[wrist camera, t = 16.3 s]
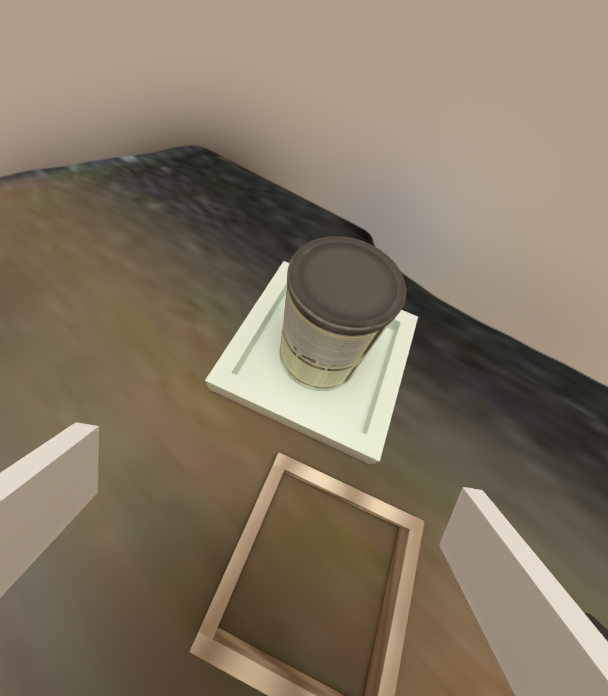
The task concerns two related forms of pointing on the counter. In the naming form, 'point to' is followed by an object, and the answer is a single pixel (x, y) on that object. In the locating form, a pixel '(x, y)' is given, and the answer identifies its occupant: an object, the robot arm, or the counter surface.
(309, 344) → the coffee can
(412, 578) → the collar
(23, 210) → the counter surface
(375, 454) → the tray
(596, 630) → the robot arm
